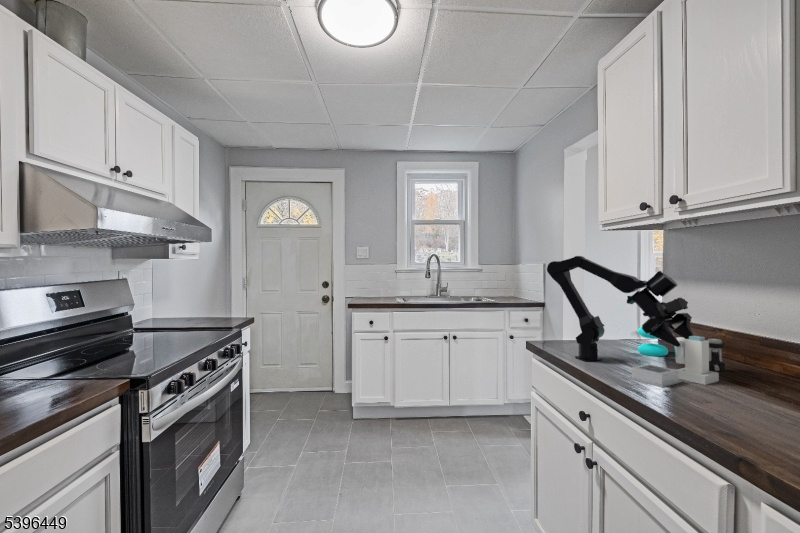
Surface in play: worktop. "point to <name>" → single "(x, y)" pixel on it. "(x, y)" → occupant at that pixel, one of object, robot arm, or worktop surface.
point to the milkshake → (680, 351)
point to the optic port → (655, 375)
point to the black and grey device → (716, 355)
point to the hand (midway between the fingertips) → (687, 344)
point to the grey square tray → (698, 377)
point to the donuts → (651, 346)
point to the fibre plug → (697, 355)
